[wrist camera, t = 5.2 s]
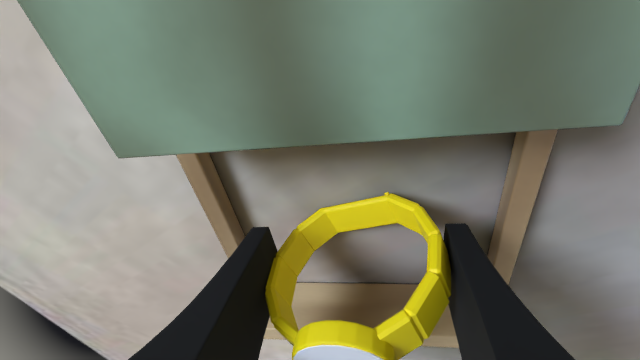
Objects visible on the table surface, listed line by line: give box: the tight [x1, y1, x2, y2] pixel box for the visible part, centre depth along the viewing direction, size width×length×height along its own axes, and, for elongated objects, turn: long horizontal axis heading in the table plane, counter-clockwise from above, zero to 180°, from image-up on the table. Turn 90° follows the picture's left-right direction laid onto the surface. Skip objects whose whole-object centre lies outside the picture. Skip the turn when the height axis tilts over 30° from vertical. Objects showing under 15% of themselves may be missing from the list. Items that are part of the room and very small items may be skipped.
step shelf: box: [17, 0, 640, 348], centre depth 10 cm, size 12×20×3 cm, turn 9°
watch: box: [265, 192, 451, 360], centre depth 11 cm, size 6×3×6 cm, turn 116°
